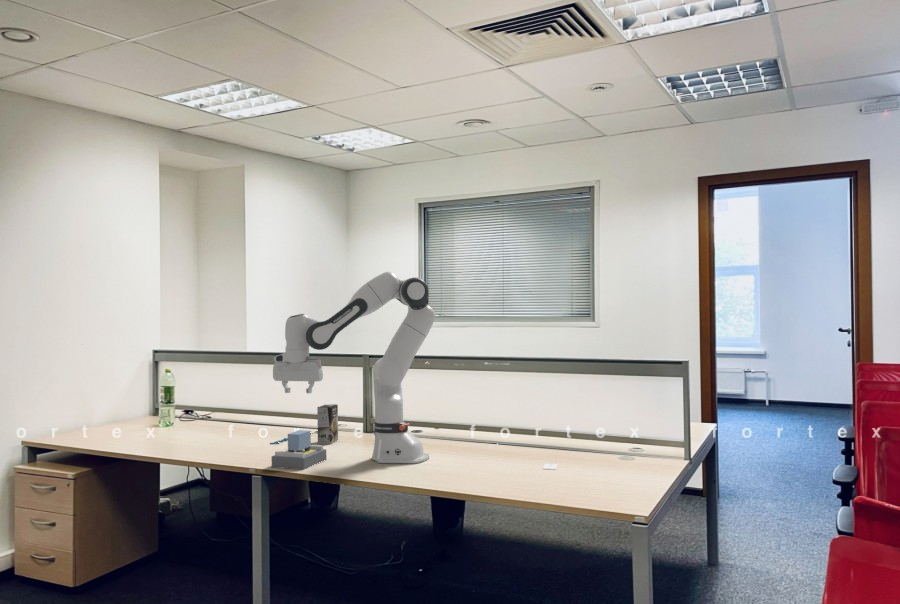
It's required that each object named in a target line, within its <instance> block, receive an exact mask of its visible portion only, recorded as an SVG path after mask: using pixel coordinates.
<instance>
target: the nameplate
mask: <svg viewBox="0 0 900 604" xmlns="http://www.w3.org/2000/svg"><path fill="white" fill-rule="evenodd" d="M287 440H288V437H286V438H285V437H284V438H283V439H281V440H278V441H274V442H270V443H269V445H280V443H278V442H281V443H284V442H288V441H287Z"/></svg>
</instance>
